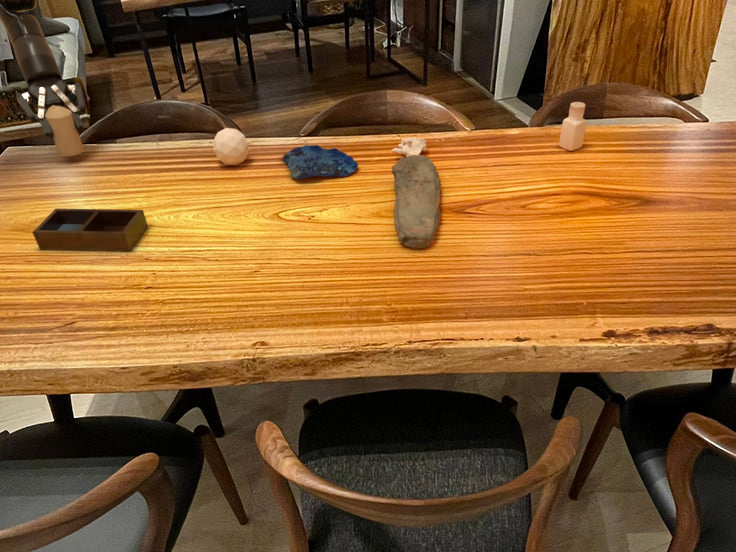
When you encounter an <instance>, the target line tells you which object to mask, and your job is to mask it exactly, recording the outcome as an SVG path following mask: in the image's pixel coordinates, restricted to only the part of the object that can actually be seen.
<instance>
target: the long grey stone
mask: <svg viewBox="0 0 736 552" xmlns="http://www.w3.org/2000/svg"><path fill="white" fill-rule="evenodd" d="M391 174H393V186H394V193H395V200H394V206H393V217H394V220H393V224H394V228H395V230H396V233H397V239H398V242H401V243H402V244H403V245H404V246H406V247H407V248H411V249H424V248H427V247H430V245H432V244H431V243H433V241H434V240H435V238H436V231H438V229H439V221H440V219H441V217H442V212H441V209H440V202H441V193H440V192H441V191H442V190H441V178H440V175H439V172H438V171H437V166H436V165H435V164H434V162H433V160H432V159H430V158H429V157H427V155H421V154H419V155H411V156H408V157H401V158H400V159H398V160H397V161H396V163H395V164H393V165H392V167H391Z"/></svg>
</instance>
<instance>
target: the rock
mask: <svg viewBox="0 0 736 552" xmlns="http://www.w3.org/2000/svg"><path fill="white" fill-rule="evenodd" d="M282 162H283V163H285V164H286V165H288V169H289V171H290V178H294V179H296V180H302V179H306V178H311V177H315V176H317V177H347V176H350V175H352V174H353V173H354V172H355V171H356V170H357V168H358V166H359V163H358V162H357V161H355V159H354V158H353V156H350V155H347V153H346V152H344V151H340V150H339V149H338V148H336V147H334V148H333V147H332V148H331V149H329V148H328V149H327V148H323V147H321V146H320V145H318V144H311V145H307V144H305V145H302V146H299V147H294V148H292V149H291V150H289V151H287V152H286V153H285V154H284V155H283V156H282Z"/></svg>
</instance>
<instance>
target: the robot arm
mask: <svg viewBox="0 0 736 552" xmlns="http://www.w3.org/2000/svg"><path fill="white" fill-rule="evenodd" d="M37 4H38V0H0V22H1V24H2V25H3V27H4V29H5V31H6V33H7V36H8V38H9V41H10V43H11V45H12V48H13V52H14V55H15V59H16V61H17V64H18V67H19V68H20V70H21V74H22V76H23V78H24V81H25V82H26V85H27V91H25V92H24V93H21V92H16V93H15V97H16V100H17V102H18V104H19V106H20V107H21V109H22V110H23V112H24V113H25V114H26V117H27V118H28V120H29V121H30V122H31V123H39V124H40V126H41V128H42V131H43V134H44V135H45V136H46V137H49V139H53V135H52V132H51V130H50V127H49V125H48V122H47V120H46V117H45V114H46V113H47V111H48V109H49V107H51V106H53V105H54V106H61V107H64V108H67V109H69V110H70V111H71V112H72V115H73V118H74V121H75V124H76V127H77V130H78V133H79V134H80V133H83V130H84V123H83V121H82V118H81V116H80V115H81V114H85V113H86V106H85V100H84V96H83V91H82V86H81V83H80V82H75V83H74V84H68V83H66V81H64V79H63V75H62V74H61V71H60V68H59V66H58V63H57V61H56V58H55V57H54V54H53V51H52V50H51V49H52V48H51V47H50V46H49V44H48V42H47V40H46V37H45V35H44V32H43V30H42V27H41V25H40V22H39V21H38V19H37V18H36V17H35V16H34V15H33V14H30V13H28V12H26V11H31V10H34V9H35V8H36V6H37ZM70 92H71V93H72V95H73V96H75V97H76V99H77V105H76V106H75V105H74V104H73V102H71V100H70V98H68V95H69V93H70ZM30 99H31V100H32V101H34V102H35V103H37V113H36V112H35V113H34V112H33V110H32V108H31V107H30V103H31V102H30Z"/></svg>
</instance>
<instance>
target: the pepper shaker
mask: <svg viewBox="0 0 736 552" xmlns="http://www.w3.org/2000/svg"><path fill="white" fill-rule="evenodd" d="M585 110H586V103H584V102H581V101H574V102H573V101H572V102H571V103H570V104H569V110H568V117H566V118H564V119H563V121H562V124H561V131H560V136H559V140H558V141H559V142H558V146H559V148H562V149H564V150H566V151H569V152H572V151H575V150H578V149H581V148H582V147H583V143H584V139H585V134H586V128H587V124H588V122H587V120H586V119H585V118H584V114H585Z"/></svg>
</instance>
